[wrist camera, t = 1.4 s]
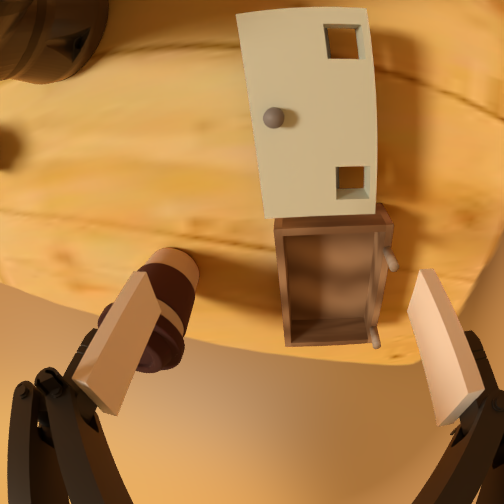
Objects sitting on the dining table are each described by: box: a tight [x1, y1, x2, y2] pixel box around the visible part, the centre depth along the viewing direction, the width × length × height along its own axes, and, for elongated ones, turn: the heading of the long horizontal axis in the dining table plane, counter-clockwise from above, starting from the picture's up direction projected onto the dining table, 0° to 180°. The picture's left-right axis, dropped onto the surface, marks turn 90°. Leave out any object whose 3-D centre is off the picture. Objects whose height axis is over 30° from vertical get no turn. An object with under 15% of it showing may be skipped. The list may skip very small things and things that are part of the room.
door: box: [236, 7, 377, 219], centre depth 22 cm, size 18×10×4 cm, turn 8°
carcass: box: [274, 203, 399, 349], centre depth 34 cm, size 18×12×8 cm
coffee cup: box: [98, 248, 199, 373], centre depth 34 cm, size 10×10×15 cm
